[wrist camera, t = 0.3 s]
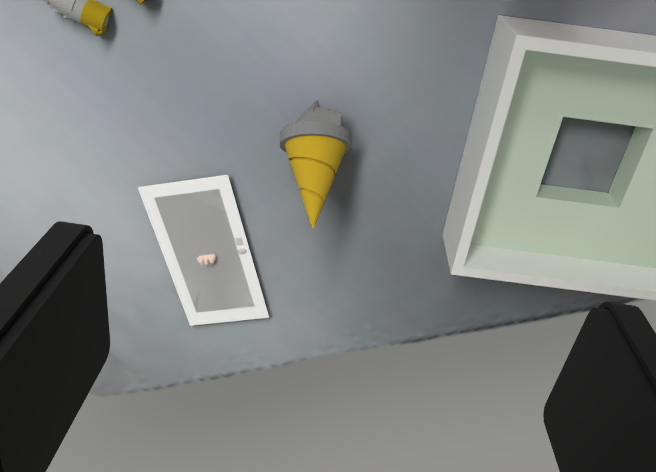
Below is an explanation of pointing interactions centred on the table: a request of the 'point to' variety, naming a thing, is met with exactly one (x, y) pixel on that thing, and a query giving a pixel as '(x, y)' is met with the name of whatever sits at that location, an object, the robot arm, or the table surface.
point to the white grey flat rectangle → (205, 249)
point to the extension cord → (85, 13)
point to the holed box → (533, 154)
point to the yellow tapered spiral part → (315, 154)
